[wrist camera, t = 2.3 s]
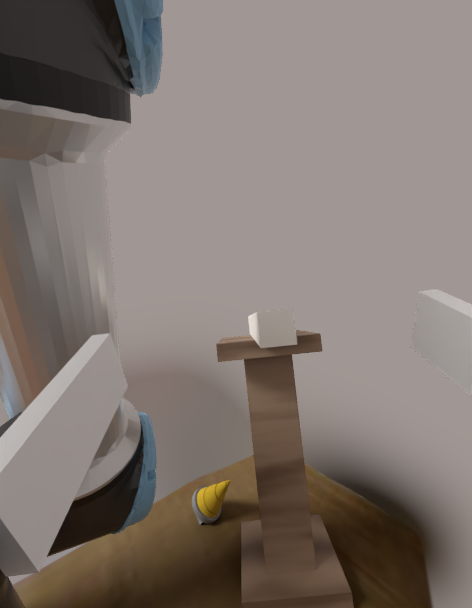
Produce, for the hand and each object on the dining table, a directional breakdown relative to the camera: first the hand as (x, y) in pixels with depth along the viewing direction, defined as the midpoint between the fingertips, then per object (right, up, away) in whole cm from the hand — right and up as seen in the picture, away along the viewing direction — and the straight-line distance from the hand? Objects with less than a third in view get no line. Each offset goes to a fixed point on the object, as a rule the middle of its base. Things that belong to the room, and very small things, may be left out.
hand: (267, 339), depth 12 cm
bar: (+2, -3, +23) cm, 23 cm away
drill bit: (-5, -35, +34) cm, 49 cm away
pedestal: (+5, -33, +24) cm, 41 cm away
